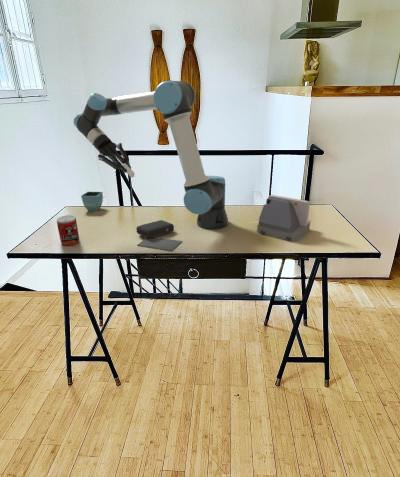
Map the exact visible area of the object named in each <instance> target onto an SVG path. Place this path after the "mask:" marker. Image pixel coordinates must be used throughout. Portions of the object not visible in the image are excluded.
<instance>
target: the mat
mask: <svg viewBox="0 0 400 477" xmlns="http://www.w3.org/2000/svg"><path fill="white" fill-rule="evenodd" d="M182 242H183V240H178V239H171V238H166V237H165V238H164V237H159V236H155V237H152V238H147V237H145V238H144V239H143V240H141V241H140V242H139V243H137V245H136V246H137V247H144V248H149V249H155V250H162V251H166V252H167V251H168V252H173V251H174V250H175V249H176V248H177V247H178V246H179V245H181V243H182Z"/></svg>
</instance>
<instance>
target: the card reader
mask: <svg viewBox="0 0 400 477" xmlns="http://www.w3.org/2000/svg"><path fill="white" fill-rule="evenodd" d="M135 230H136V234H138V235H140V236H142V237H144V238H152V237H159V236H163V235H165V234H170V233H173V232H174V230H175V226H174V224H173V223H171V222H168V221H166V220H163V219H161V220H160V219H159V220H156V221H151V222H148V223H145V224H141V225H138V226H136V229H135Z"/></svg>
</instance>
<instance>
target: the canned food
mask: <svg viewBox="0 0 400 477" xmlns="http://www.w3.org/2000/svg"><path fill="white" fill-rule="evenodd" d="M56 225H57V230H58V235H59V240H60V244H61V245H62V246H66V247H71V246H74V245H77V244H78V243H79V242H80V235H79V228H78V223H77V218H76V216H75V215H63V216H62V215H61V216H58V217H57V218H56Z"/></svg>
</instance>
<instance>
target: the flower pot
mask: <svg viewBox="0 0 400 477" xmlns="http://www.w3.org/2000/svg"><path fill="white" fill-rule="evenodd" d="M103 193H104V192H103V191H86V192H85V193H83V194H81V195H80V197H81V201H82V205H83V206H84V208H85V209H86V210H87V211H88V212H89V211H90V212H91V211H94V212H97V211H98V210H100V209H101V207H102V205H103V201H104V200H103V198H104V197H103Z"/></svg>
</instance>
